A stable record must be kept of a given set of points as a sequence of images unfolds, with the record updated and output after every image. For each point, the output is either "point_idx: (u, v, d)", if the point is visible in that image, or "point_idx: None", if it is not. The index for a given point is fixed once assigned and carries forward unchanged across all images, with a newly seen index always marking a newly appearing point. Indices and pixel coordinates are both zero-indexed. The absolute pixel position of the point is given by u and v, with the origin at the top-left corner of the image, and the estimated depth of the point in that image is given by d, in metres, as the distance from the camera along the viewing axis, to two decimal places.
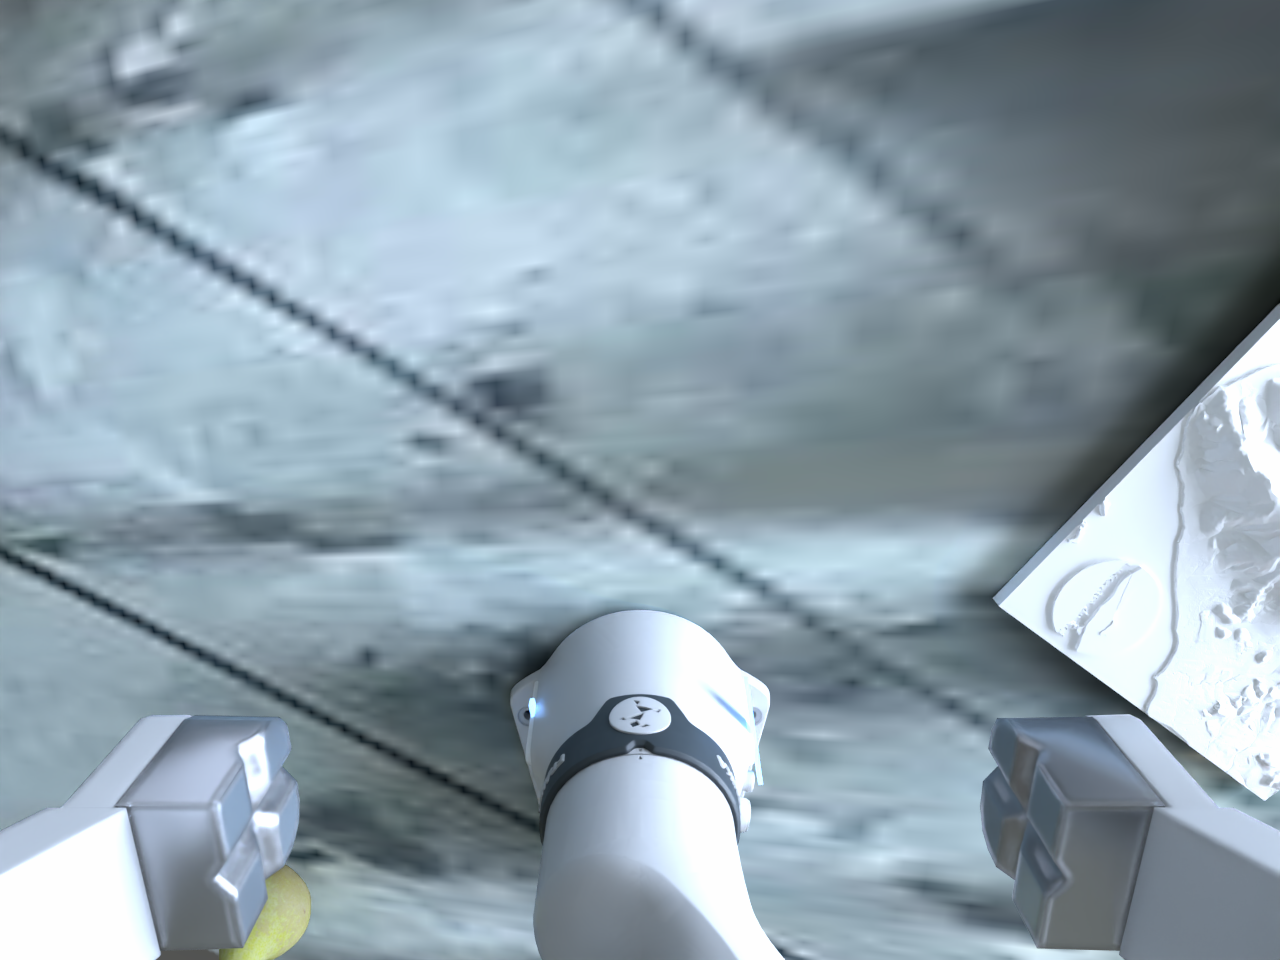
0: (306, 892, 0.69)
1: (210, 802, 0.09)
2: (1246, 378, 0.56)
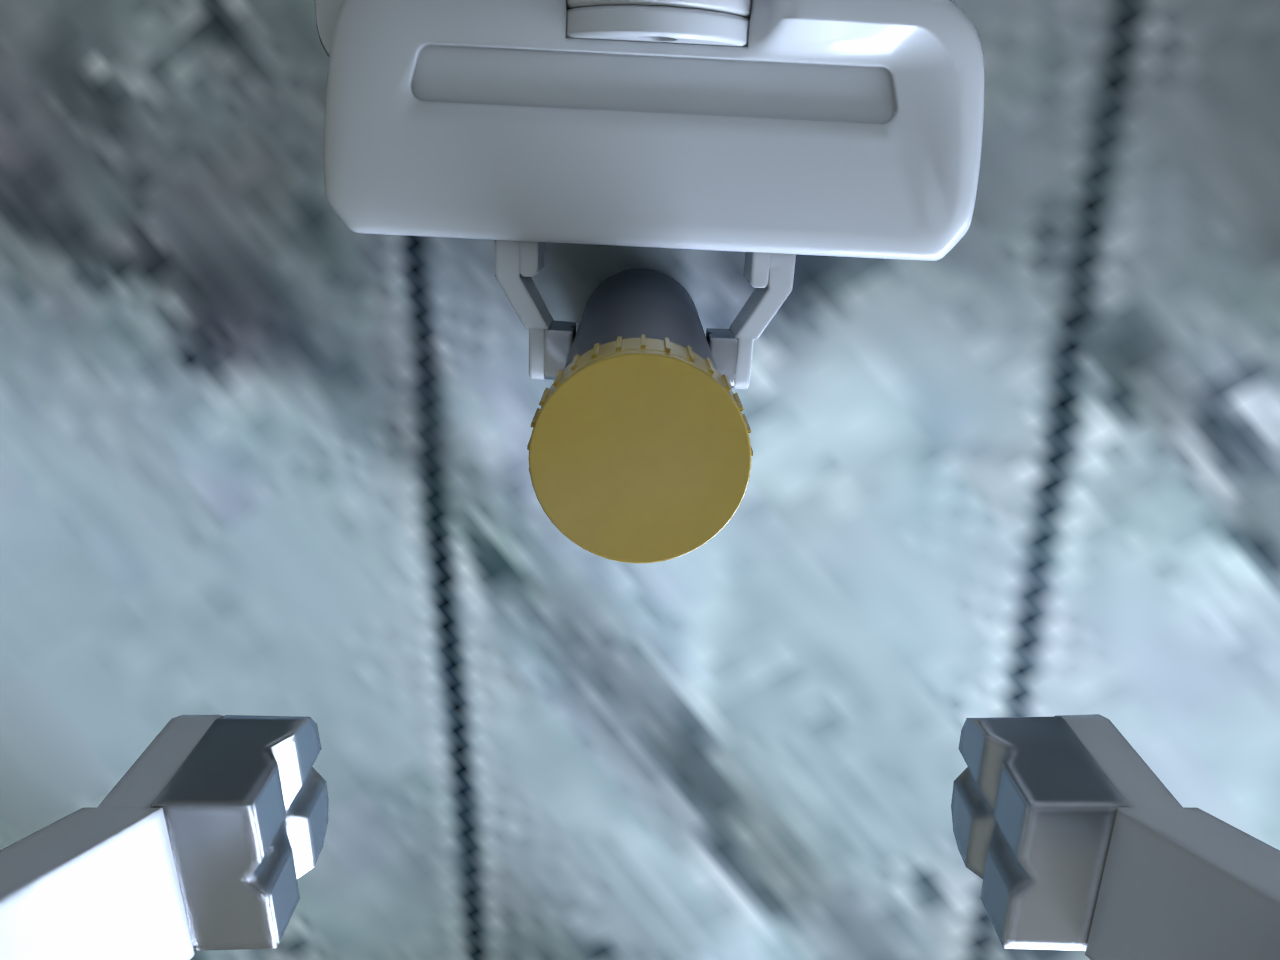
0: None
1: (246, 802, 0.09)
2: None
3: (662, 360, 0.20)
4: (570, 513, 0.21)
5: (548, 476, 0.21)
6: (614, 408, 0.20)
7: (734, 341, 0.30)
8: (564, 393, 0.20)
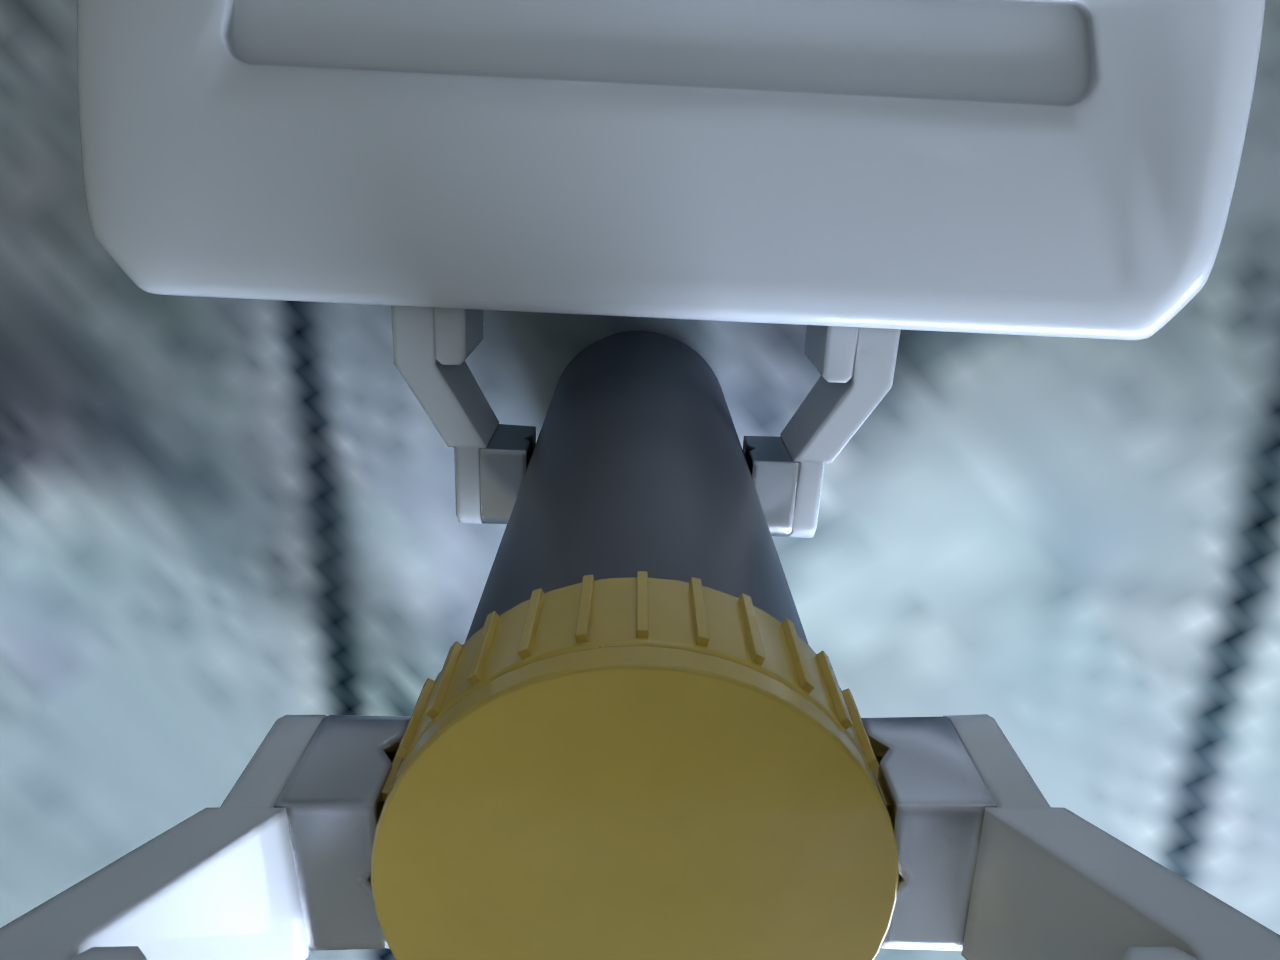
0: None
1: (367, 802, 0.09)
2: None
3: (690, 682, 0.08)
4: None
5: (419, 920, 0.09)
6: (571, 784, 0.08)
7: (793, 467, 0.18)
8: (447, 753, 0.08)
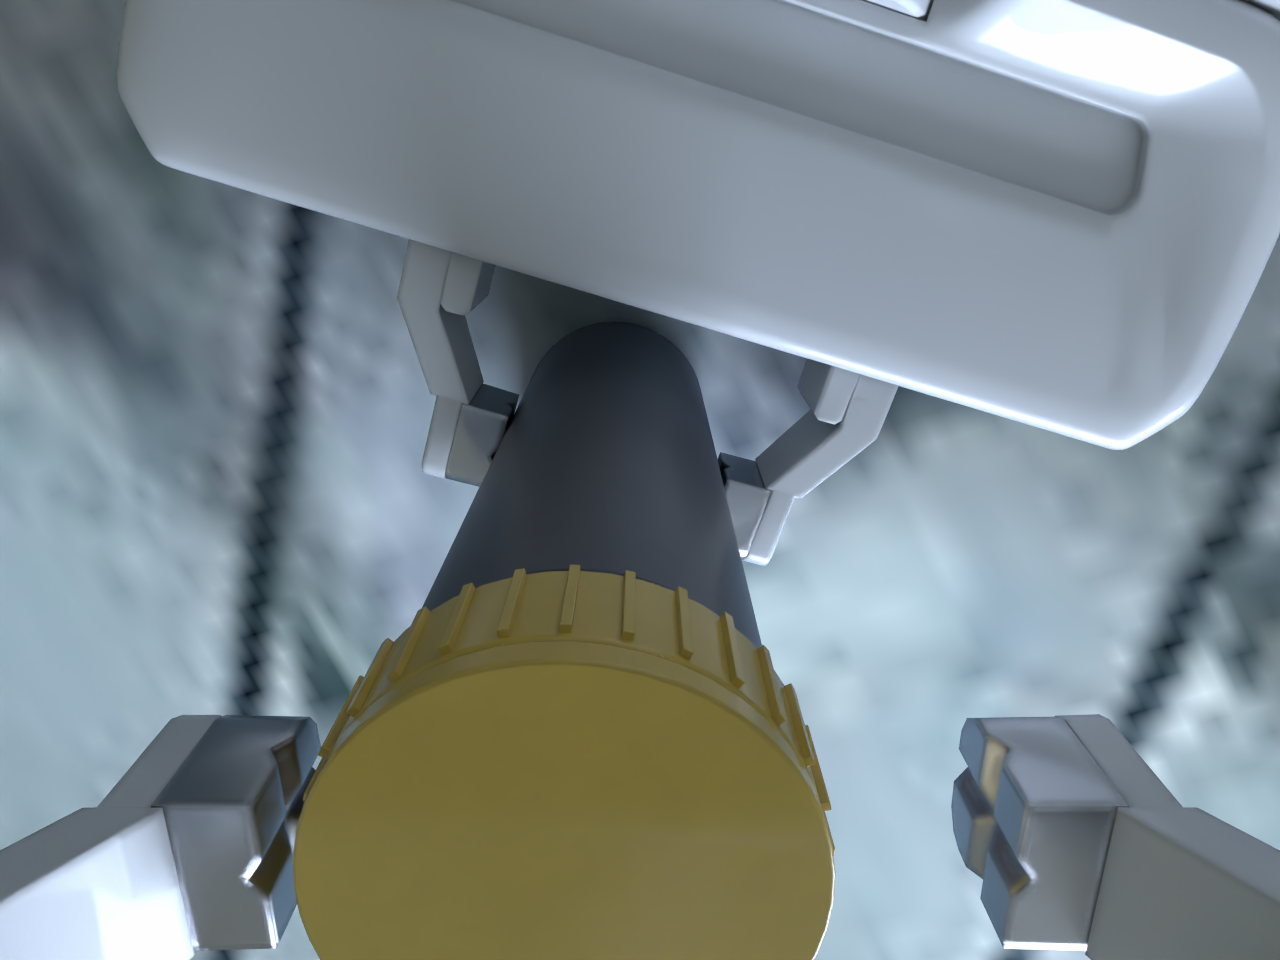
0: None
1: (245, 802, 0.09)
2: None
3: (431, 698, 0.08)
4: None
5: None
6: (426, 839, 0.08)
7: (764, 493, 0.18)
8: (313, 873, 0.08)
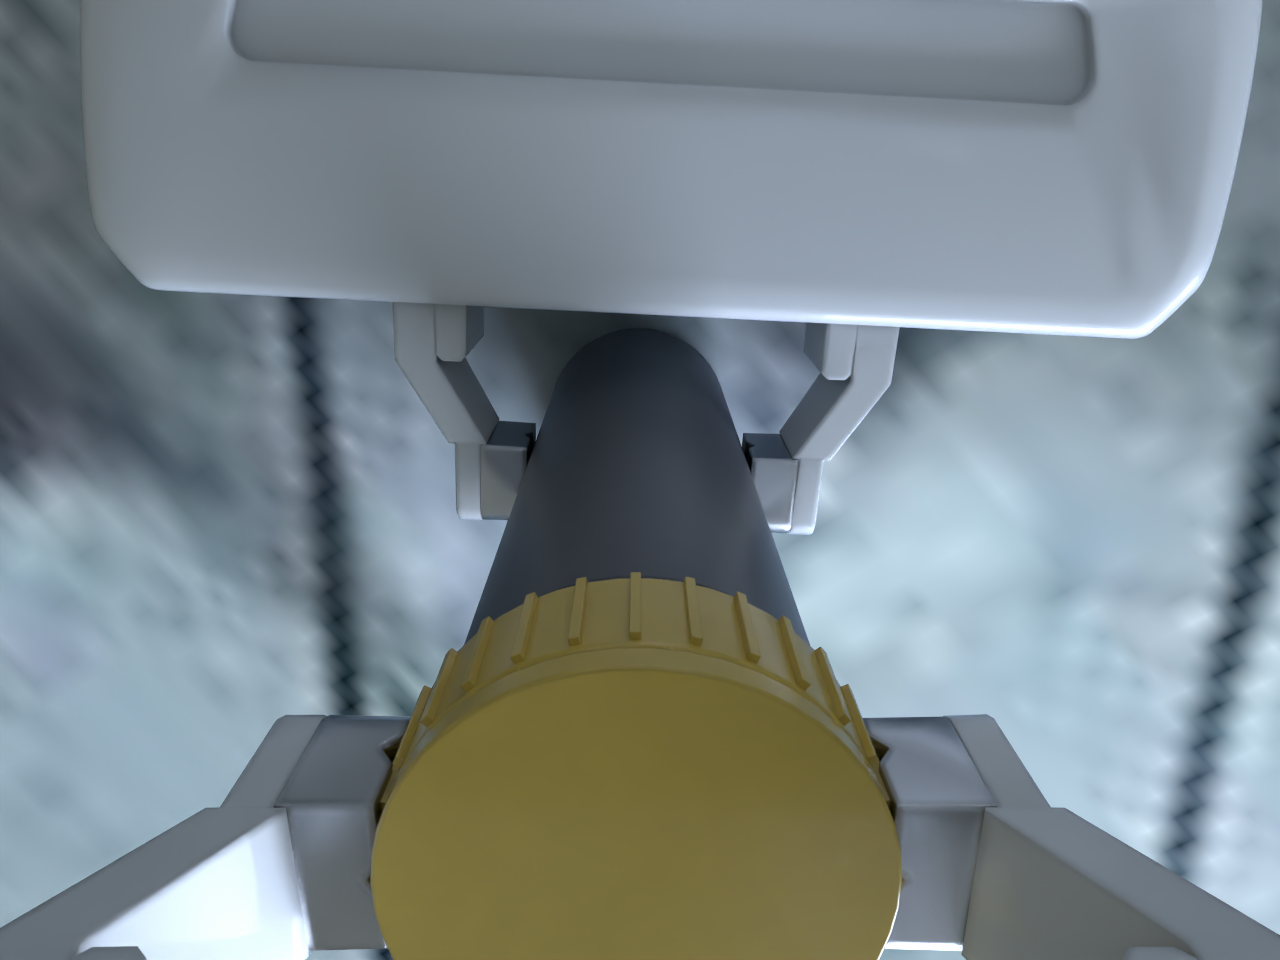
0: None
1: (367, 802, 0.09)
2: None
3: (460, 734, 0.08)
4: None
5: None
6: (491, 868, 0.08)
7: (792, 464, 0.18)
8: (397, 921, 0.09)
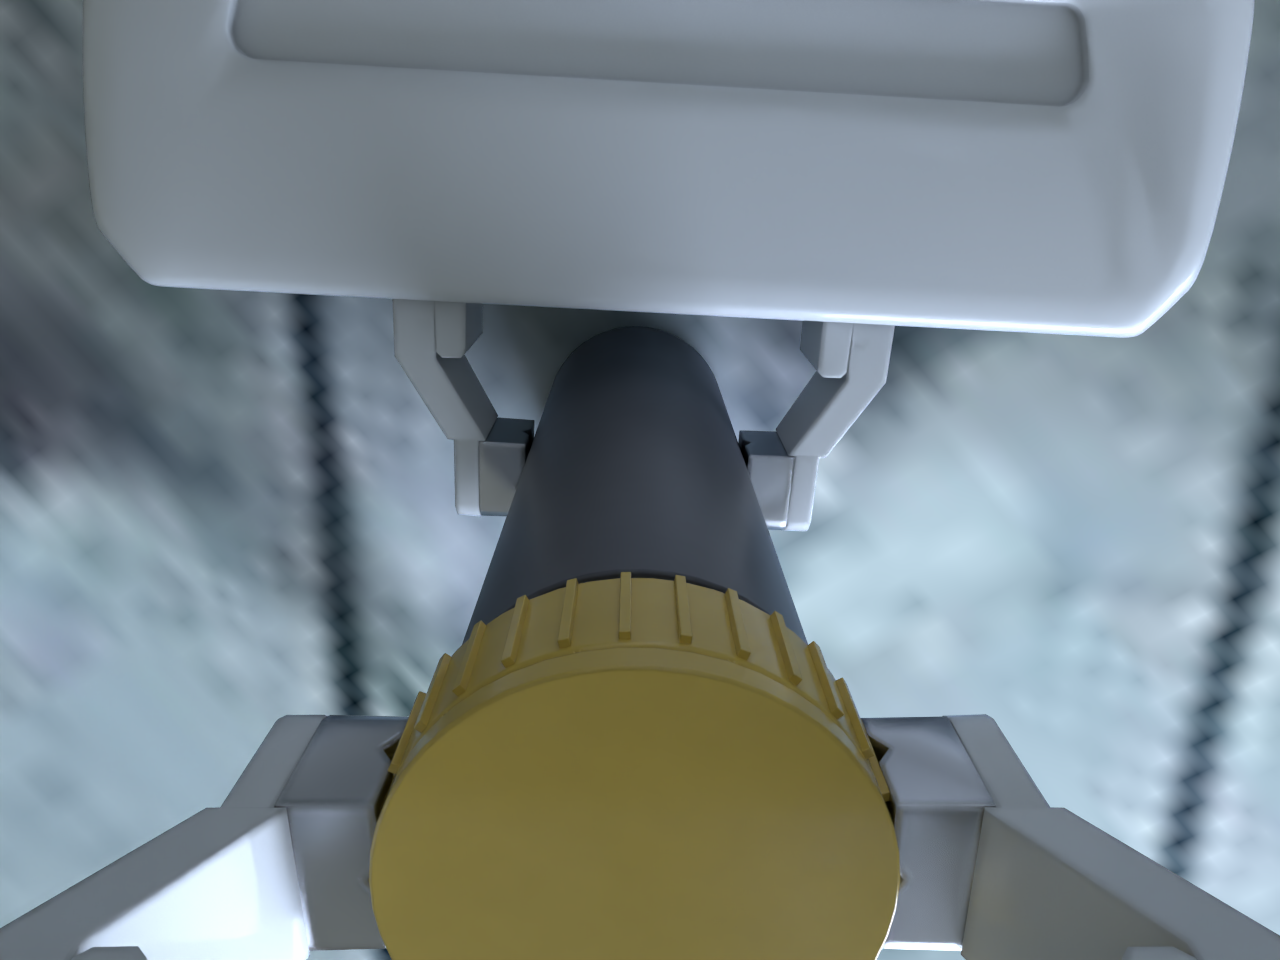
0: None
1: (367, 802, 0.09)
2: None
3: (381, 903, 0.09)
4: None
5: None
6: None
7: (788, 461, 0.18)
8: None
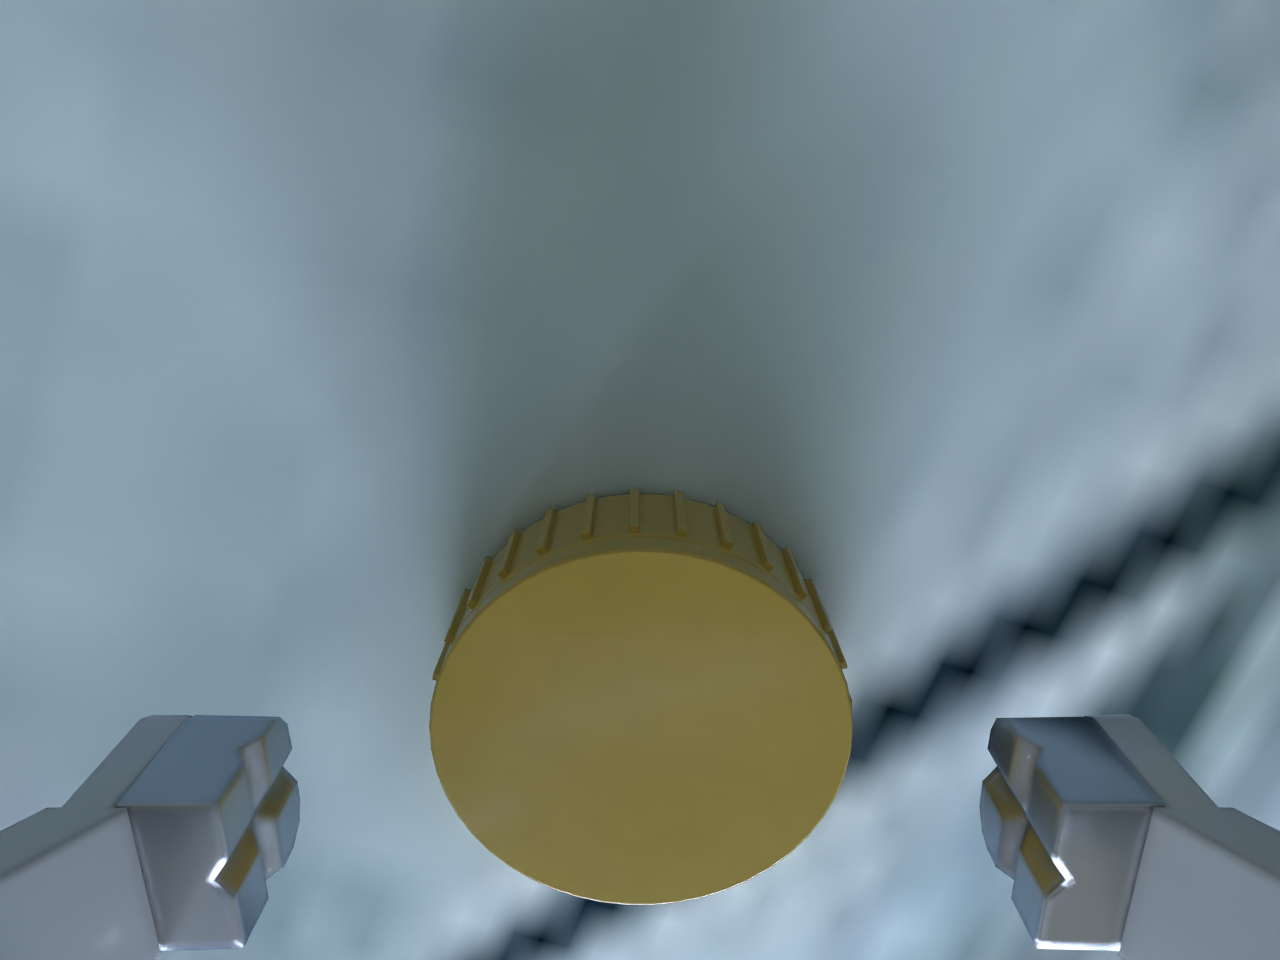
0: None
1: (210, 802, 0.09)
2: None
3: (439, 746, 0.11)
4: (767, 828, 0.11)
5: (702, 872, 0.11)
6: (549, 799, 0.11)
7: None
8: (545, 872, 0.11)
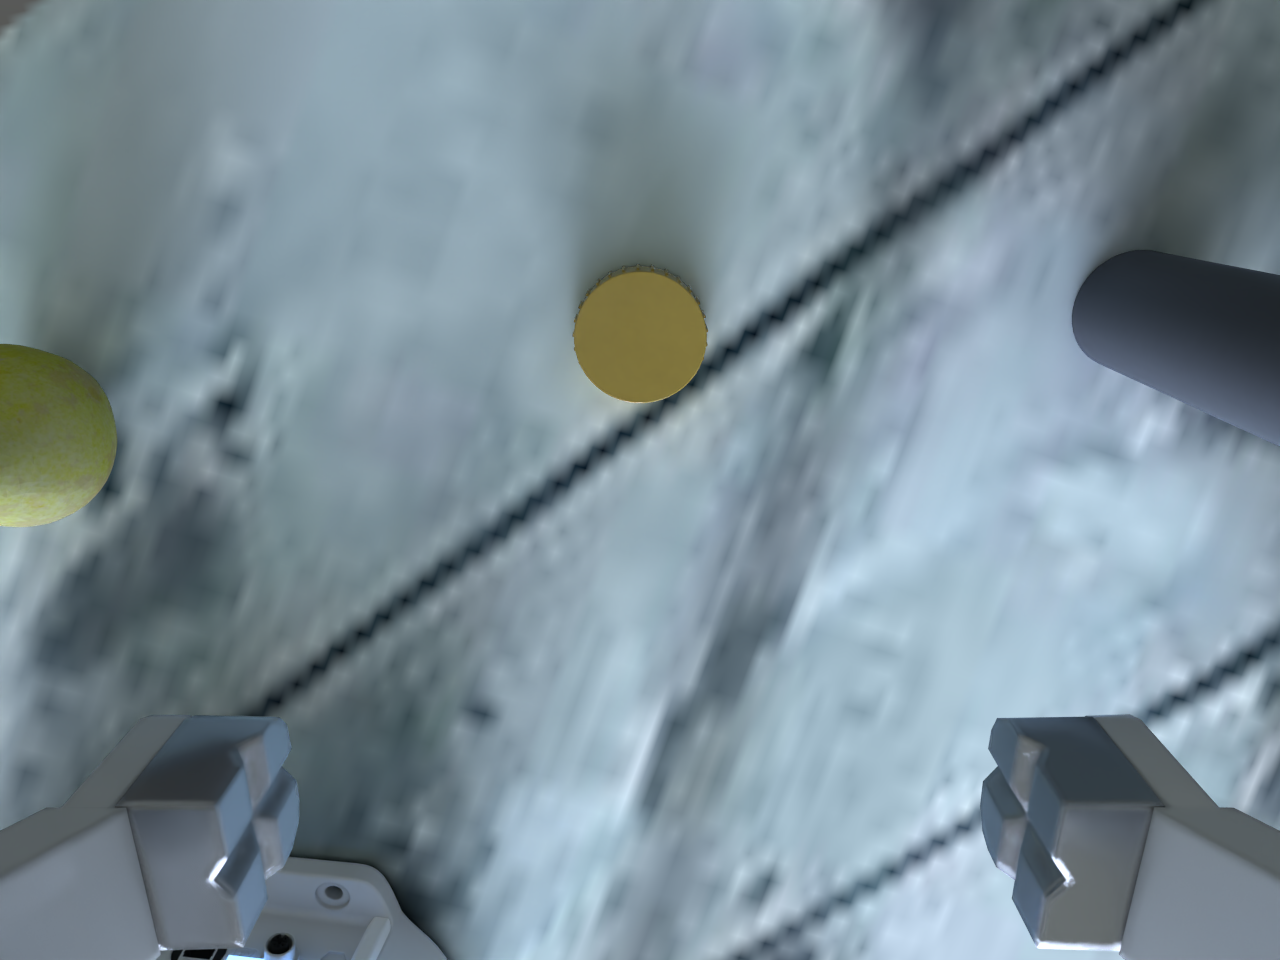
0: None
1: (210, 802, 0.09)
2: None
3: (576, 340, 0.34)
4: (681, 372, 0.35)
5: (660, 389, 0.35)
6: (611, 360, 0.35)
7: None
8: (609, 389, 0.35)
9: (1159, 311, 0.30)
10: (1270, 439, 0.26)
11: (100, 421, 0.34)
